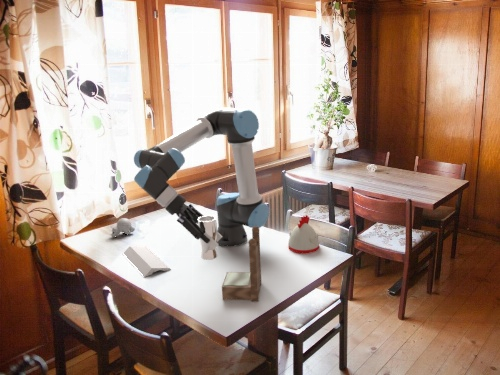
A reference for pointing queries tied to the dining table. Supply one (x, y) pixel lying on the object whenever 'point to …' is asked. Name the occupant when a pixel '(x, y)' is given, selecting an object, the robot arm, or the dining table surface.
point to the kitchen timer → (303, 238)
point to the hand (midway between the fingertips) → (218, 242)
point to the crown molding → (145, 260)
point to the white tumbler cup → (210, 228)
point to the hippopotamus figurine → (122, 227)
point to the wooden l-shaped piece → (245, 275)
